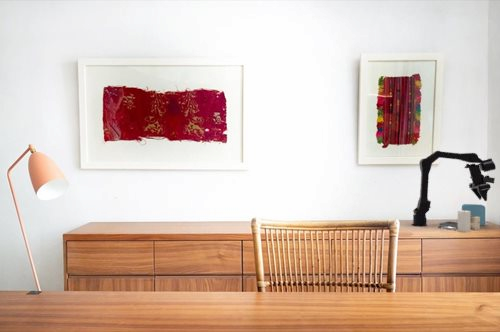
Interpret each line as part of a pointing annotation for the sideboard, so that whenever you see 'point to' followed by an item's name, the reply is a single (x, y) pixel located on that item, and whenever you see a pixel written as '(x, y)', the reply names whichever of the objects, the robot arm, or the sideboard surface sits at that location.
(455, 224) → the tray
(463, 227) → the cream block
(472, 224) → the birch block
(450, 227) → the cylinder
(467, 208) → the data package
